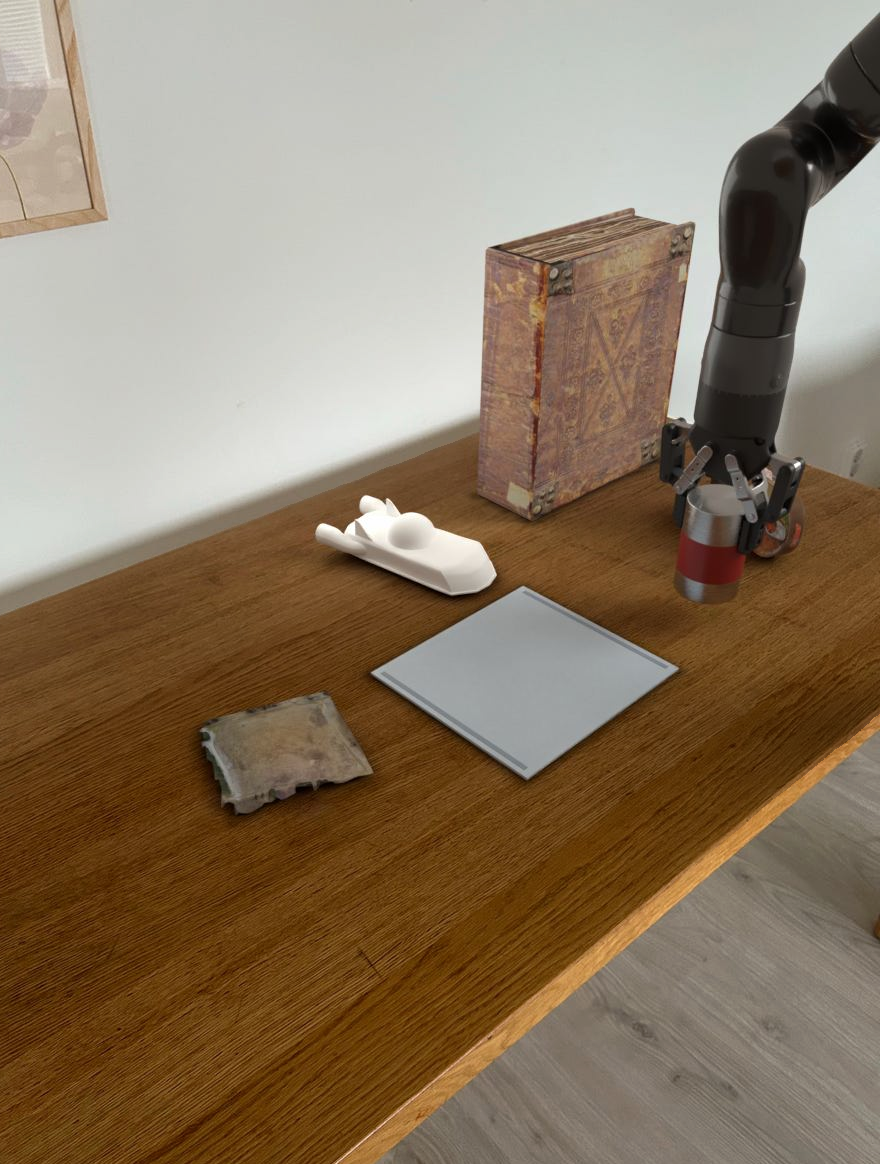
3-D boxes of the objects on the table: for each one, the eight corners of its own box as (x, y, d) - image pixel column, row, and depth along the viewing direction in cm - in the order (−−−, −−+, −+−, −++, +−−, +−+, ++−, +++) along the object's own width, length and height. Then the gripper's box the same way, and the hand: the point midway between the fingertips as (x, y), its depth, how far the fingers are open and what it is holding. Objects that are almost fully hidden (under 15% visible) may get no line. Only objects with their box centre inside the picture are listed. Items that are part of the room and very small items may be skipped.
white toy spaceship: (462, 612, 106) (463, 565, 103) (315, 555, 116) (312, 510, 112) (513, 569, 113) (516, 523, 109) (370, 518, 122) (369, 475, 119)
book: (607, 436, 140) (634, 206, 122) (661, 458, 134) (698, 220, 117) (476, 495, 127) (484, 247, 109) (530, 523, 121) (549, 265, 103)
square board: (678, 670, 98) (679, 667, 98) (526, 780, 86) (527, 777, 86) (523, 587, 110) (523, 585, 110) (370, 674, 98) (370, 672, 98)
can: (751, 587, 103) (769, 499, 97) (714, 612, 99) (732, 522, 93) (696, 563, 107) (711, 477, 101) (660, 587, 103) (673, 499, 97)
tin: (703, 509, 123) (715, 445, 118) (725, 505, 124) (738, 441, 119) (775, 572, 112) (791, 504, 107) (799, 567, 112) (817, 500, 107)
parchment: (194, 726, 92) (193, 718, 91) (331, 693, 95) (331, 685, 95) (225, 820, 82) (223, 811, 82) (375, 779, 86) (375, 770, 85)
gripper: (841, 384, 87) (801, 551, 97) (699, 344, 96) (675, 500, 106) (796, 410, 83) (758, 581, 93) (651, 365, 92) (631, 526, 102)
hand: (714, 537), depth 99 cm, fingers closed on can, 6 cm apart
